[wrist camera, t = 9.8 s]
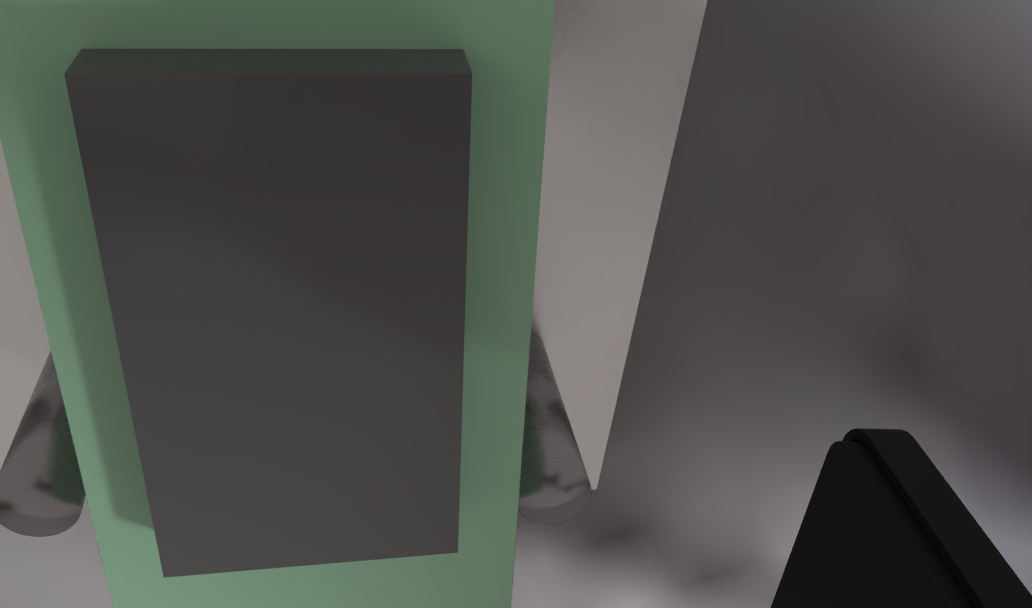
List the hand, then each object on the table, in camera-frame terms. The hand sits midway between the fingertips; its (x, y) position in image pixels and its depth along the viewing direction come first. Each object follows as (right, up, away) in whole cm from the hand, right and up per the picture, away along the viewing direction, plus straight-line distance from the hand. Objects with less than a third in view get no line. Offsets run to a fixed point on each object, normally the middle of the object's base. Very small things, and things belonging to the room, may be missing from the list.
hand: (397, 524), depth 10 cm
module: (-2, +5, +6) cm, 8 cm away
